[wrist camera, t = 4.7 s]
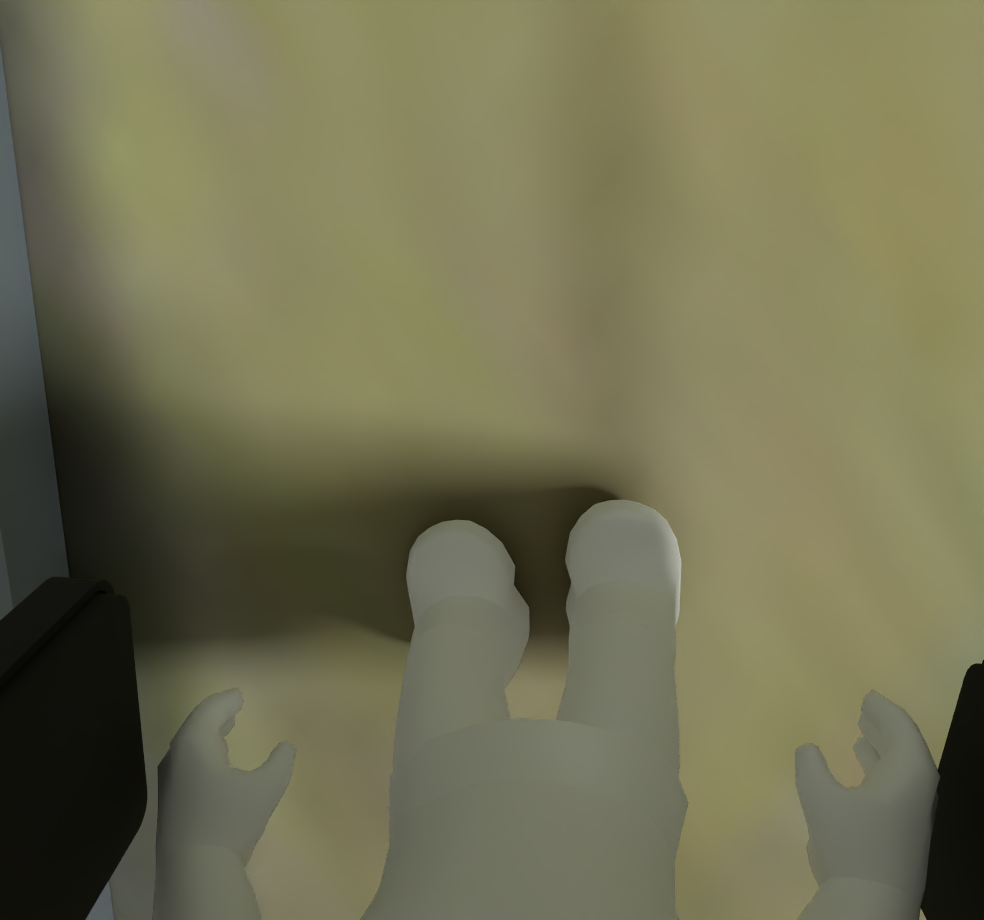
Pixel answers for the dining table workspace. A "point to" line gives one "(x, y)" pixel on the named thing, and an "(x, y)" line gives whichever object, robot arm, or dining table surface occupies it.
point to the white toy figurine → (544, 760)
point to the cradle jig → (24, 423)
